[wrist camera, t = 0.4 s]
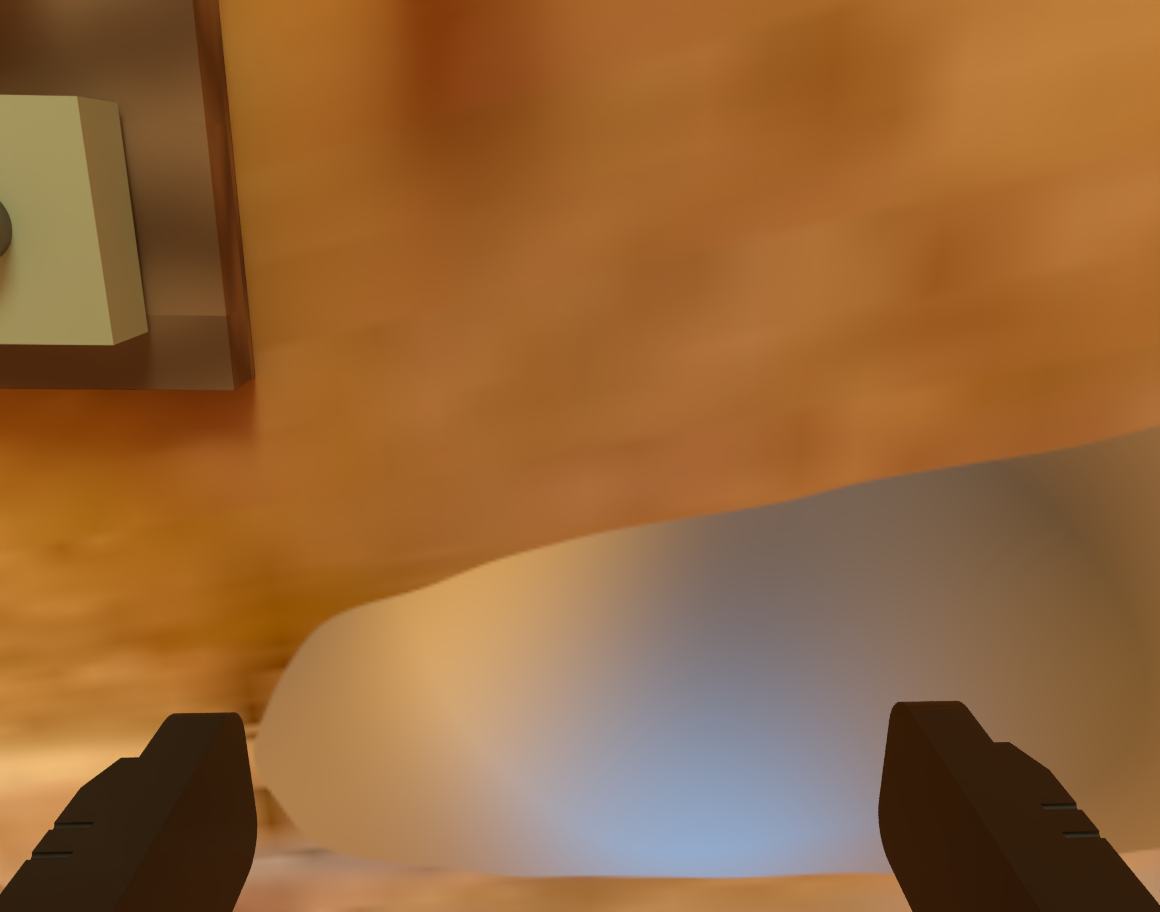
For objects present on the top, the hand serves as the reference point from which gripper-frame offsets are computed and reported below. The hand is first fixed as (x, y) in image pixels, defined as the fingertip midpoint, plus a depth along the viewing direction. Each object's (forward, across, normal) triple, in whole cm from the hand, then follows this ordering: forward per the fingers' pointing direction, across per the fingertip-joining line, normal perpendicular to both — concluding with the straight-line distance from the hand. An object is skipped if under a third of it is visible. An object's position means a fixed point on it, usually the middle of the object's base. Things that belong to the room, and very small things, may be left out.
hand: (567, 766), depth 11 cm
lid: (+22, +18, -5) cm, 30 cm away
